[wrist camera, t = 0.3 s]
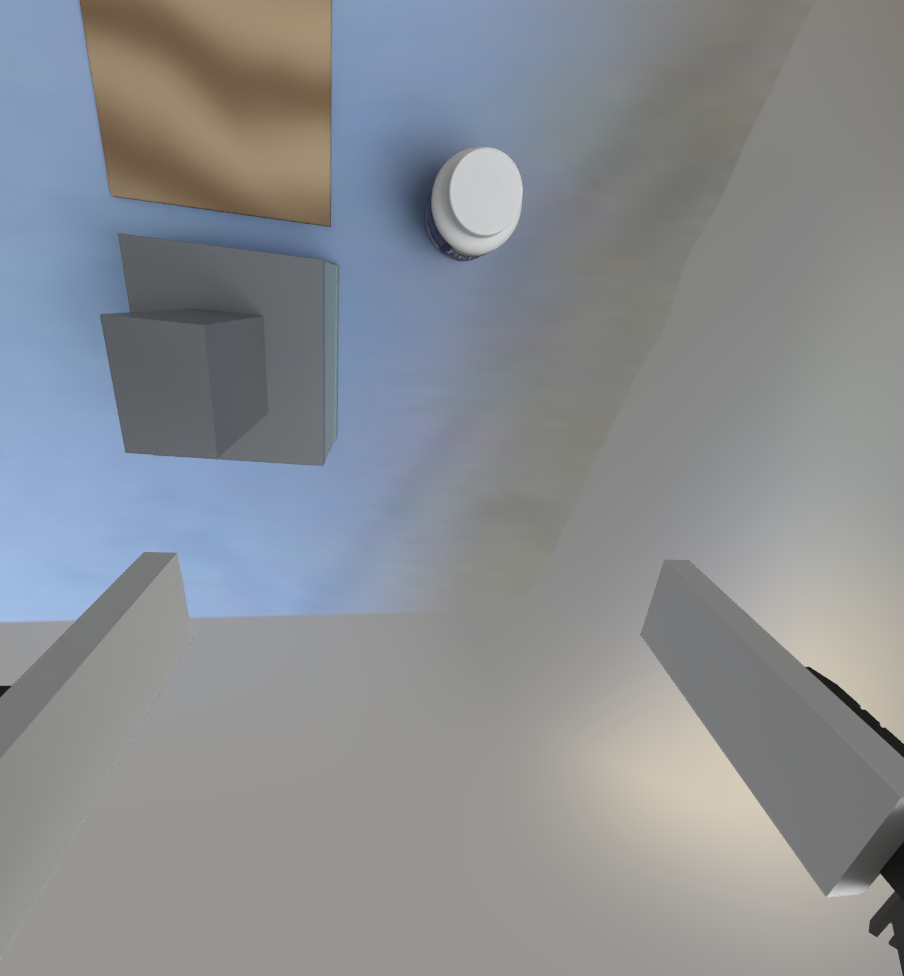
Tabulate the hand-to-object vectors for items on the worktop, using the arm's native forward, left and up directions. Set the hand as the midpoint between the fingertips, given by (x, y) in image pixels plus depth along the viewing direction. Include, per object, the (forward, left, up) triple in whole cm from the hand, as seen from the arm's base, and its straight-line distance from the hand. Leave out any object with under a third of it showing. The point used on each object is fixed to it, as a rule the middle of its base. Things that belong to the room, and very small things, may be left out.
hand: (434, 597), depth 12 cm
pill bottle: (-13, +3, -27) cm, 30 cm away
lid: (-2, -12, -21) cm, 24 cm away
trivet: (-19, -14, -27) cm, 36 cm away
